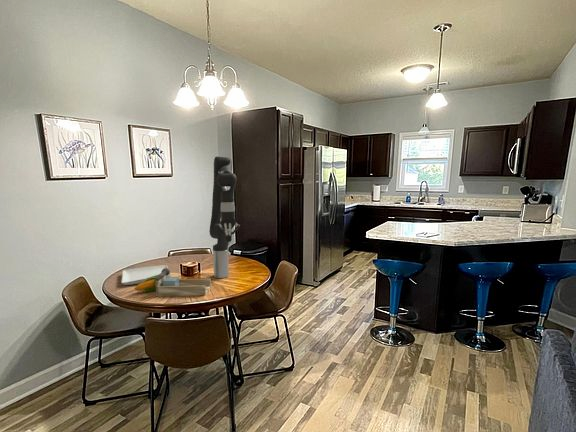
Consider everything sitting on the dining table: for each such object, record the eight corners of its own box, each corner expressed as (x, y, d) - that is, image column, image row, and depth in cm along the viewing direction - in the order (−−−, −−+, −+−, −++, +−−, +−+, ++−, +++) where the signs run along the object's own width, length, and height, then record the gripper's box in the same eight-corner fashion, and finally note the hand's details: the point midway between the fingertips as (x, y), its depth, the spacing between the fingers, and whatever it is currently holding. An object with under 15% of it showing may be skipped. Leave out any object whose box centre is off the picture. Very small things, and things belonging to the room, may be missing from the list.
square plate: (122, 275, 200) (122, 269, 200) (167, 269, 212) (166, 264, 212) (121, 288, 176) (120, 281, 176) (171, 280, 188) (171, 274, 188)
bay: (163, 287, 176) (161, 268, 174) (211, 286, 176) (210, 267, 175) (153, 296, 162) (151, 275, 161) (205, 295, 163) (204, 274, 161)
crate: (167, 287, 172) (166, 276, 171) (179, 287, 172) (179, 276, 171) (162, 291, 165) (161, 280, 164) (175, 291, 165) (175, 280, 165)
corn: (171, 272, 178) (137, 282, 161) (172, 285, 178) (139, 296, 162) (164, 271, 182) (130, 280, 166) (165, 284, 183) (132, 294, 166)
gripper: (241, 209, 170) (242, 240, 172) (217, 209, 170) (218, 240, 172) (239, 211, 162) (240, 243, 164) (214, 211, 162) (215, 243, 164)
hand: (229, 241), depth 168 cm, fingers closed
